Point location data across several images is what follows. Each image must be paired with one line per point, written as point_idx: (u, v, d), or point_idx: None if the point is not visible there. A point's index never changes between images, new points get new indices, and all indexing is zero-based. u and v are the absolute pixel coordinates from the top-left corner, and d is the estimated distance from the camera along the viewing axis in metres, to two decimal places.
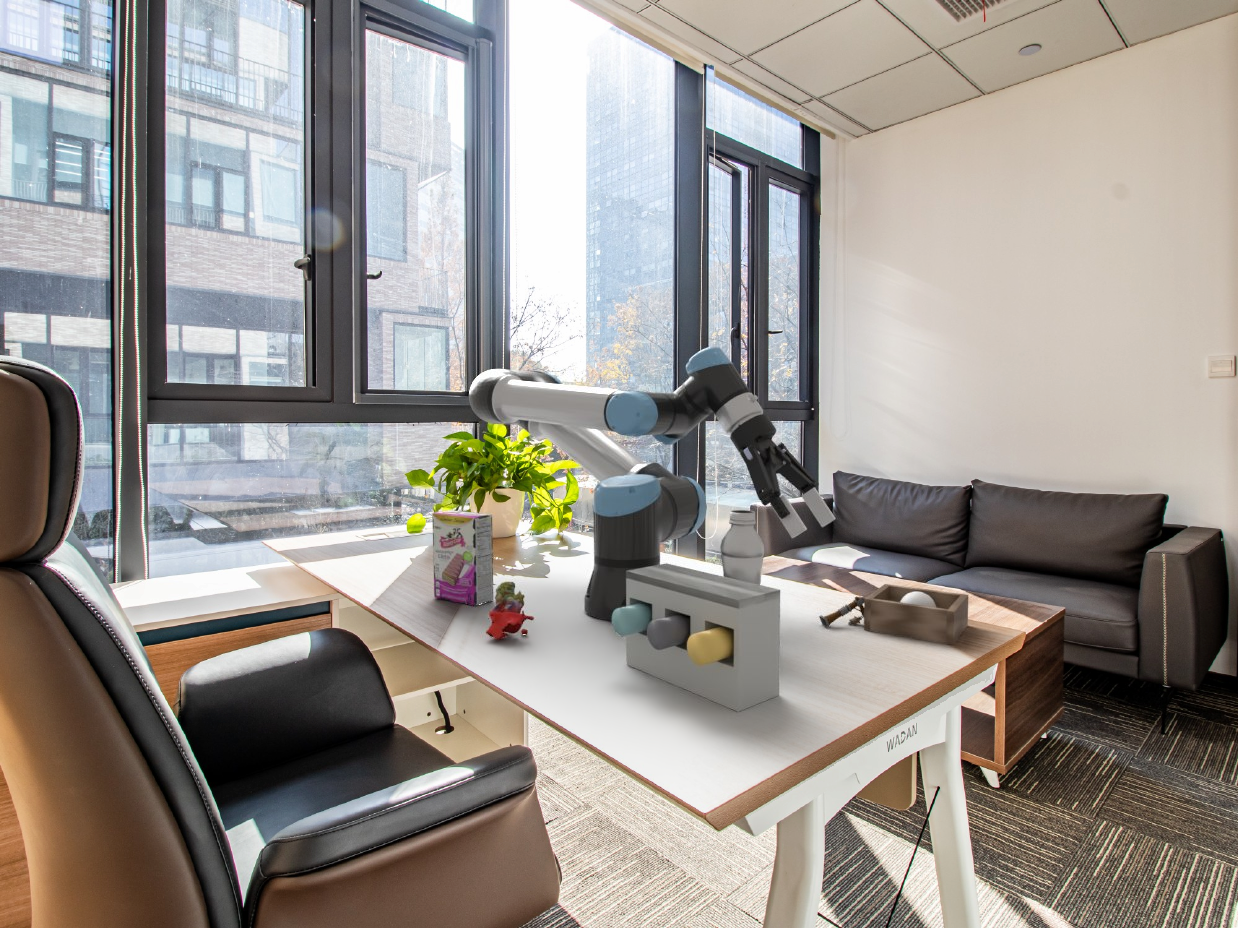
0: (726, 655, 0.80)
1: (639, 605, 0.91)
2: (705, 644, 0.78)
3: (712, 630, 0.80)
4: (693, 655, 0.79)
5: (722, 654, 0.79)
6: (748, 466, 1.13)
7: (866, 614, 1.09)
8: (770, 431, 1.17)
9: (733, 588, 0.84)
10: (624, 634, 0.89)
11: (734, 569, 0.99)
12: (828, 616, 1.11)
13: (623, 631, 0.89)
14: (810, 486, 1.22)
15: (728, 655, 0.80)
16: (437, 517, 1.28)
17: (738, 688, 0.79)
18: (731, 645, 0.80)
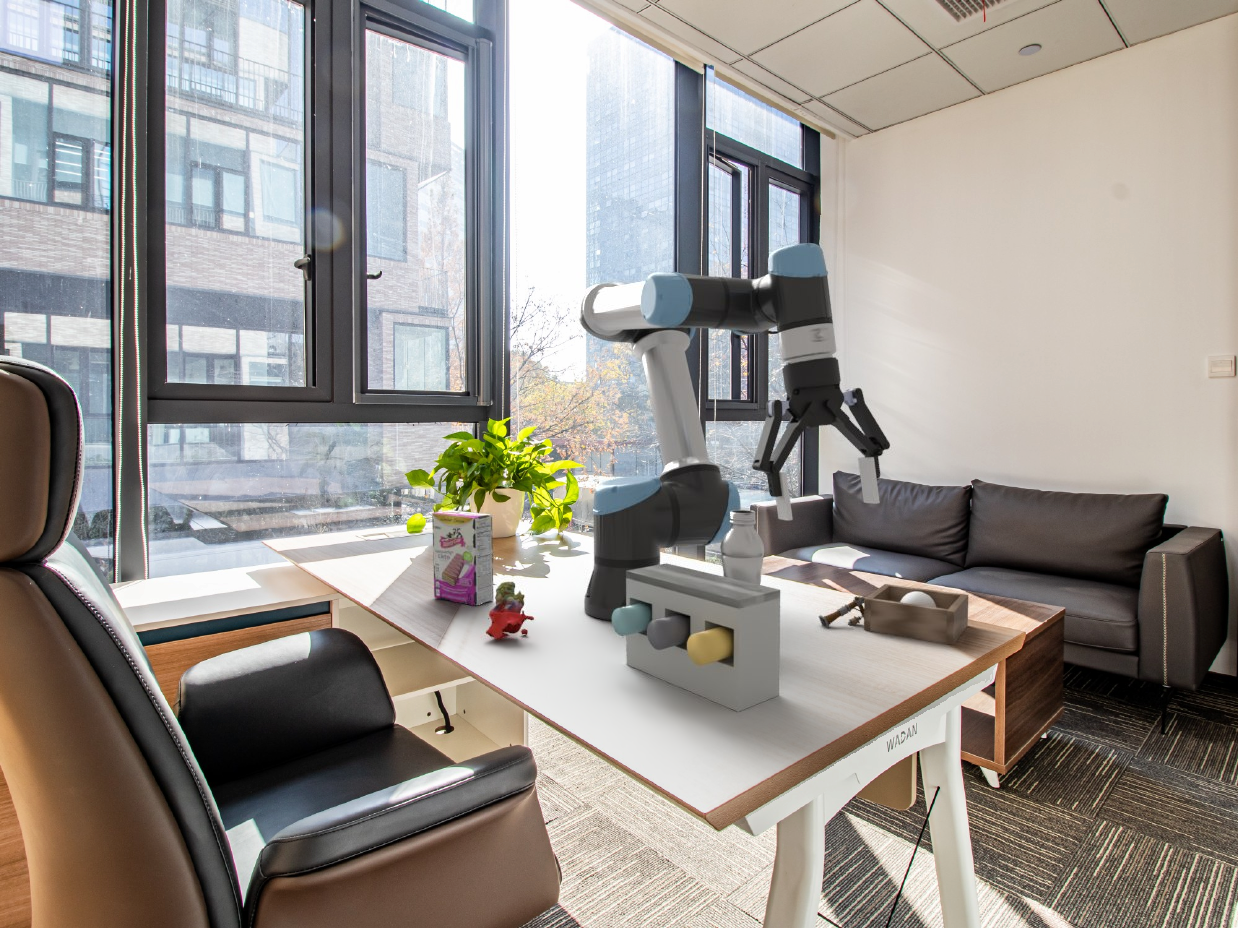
0: (726, 655, 0.80)
1: (639, 605, 0.91)
2: (705, 644, 0.78)
3: (712, 630, 0.80)
4: (693, 655, 0.79)
5: (722, 654, 0.79)
6: (765, 423, 0.95)
7: (866, 614, 1.09)
8: (818, 385, 0.92)
9: (733, 588, 0.84)
10: (624, 634, 0.89)
11: (734, 569, 0.99)
12: (828, 616, 1.11)
13: (623, 631, 0.89)
14: (870, 453, 0.97)
15: (728, 655, 0.80)
16: (437, 517, 1.28)
17: (738, 688, 0.79)
18: (731, 645, 0.80)
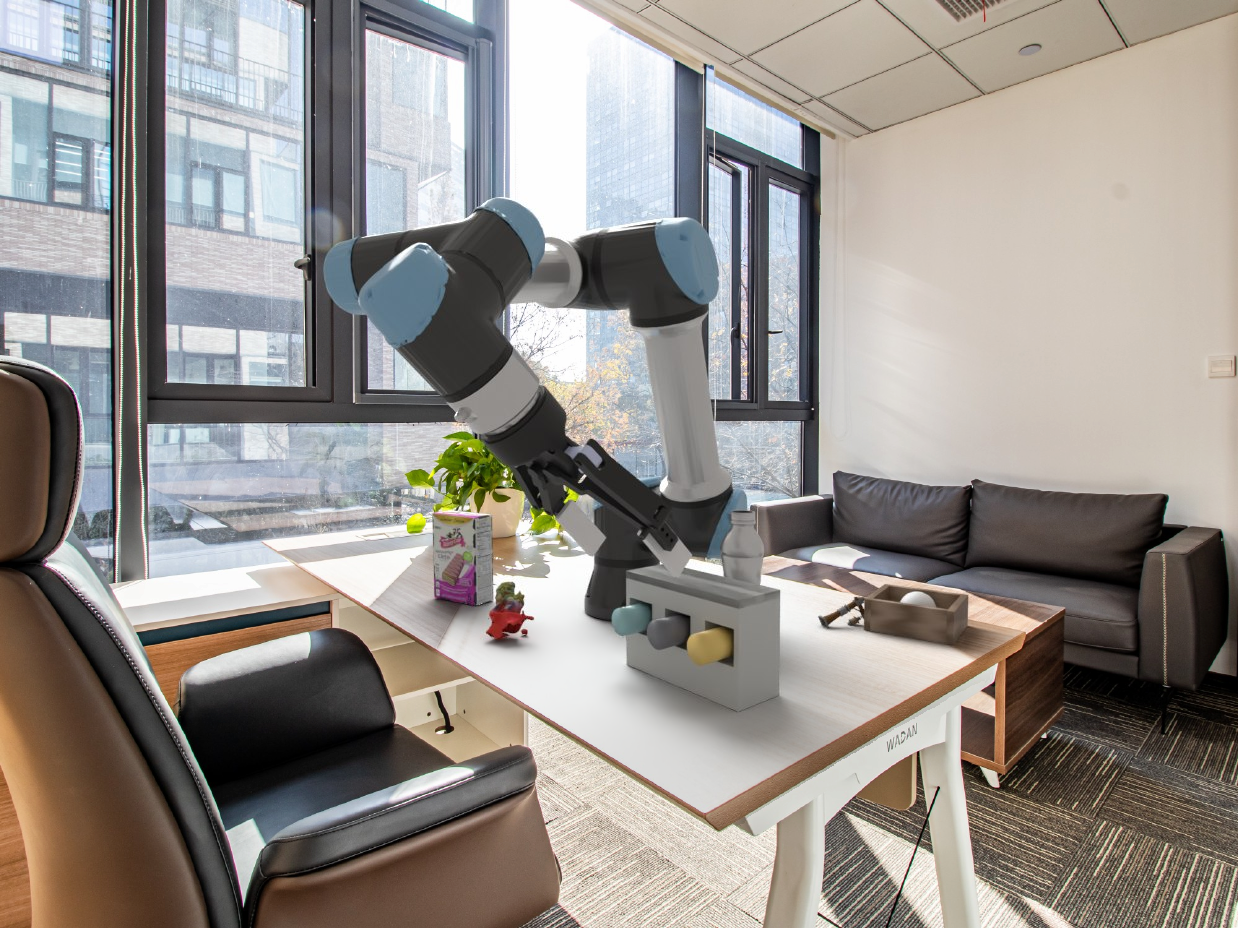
0: (726, 655, 0.80)
1: (639, 605, 0.91)
2: (705, 644, 0.78)
3: (712, 630, 0.80)
4: (693, 655, 0.79)
5: (722, 654, 0.79)
6: None
7: (866, 614, 1.09)
8: None
9: (733, 588, 0.84)
10: (624, 634, 0.89)
11: (734, 569, 0.99)
12: (827, 616, 1.11)
13: (623, 631, 0.89)
14: None
15: (728, 655, 0.80)
16: (437, 517, 1.28)
17: (738, 688, 0.79)
18: (731, 645, 0.80)
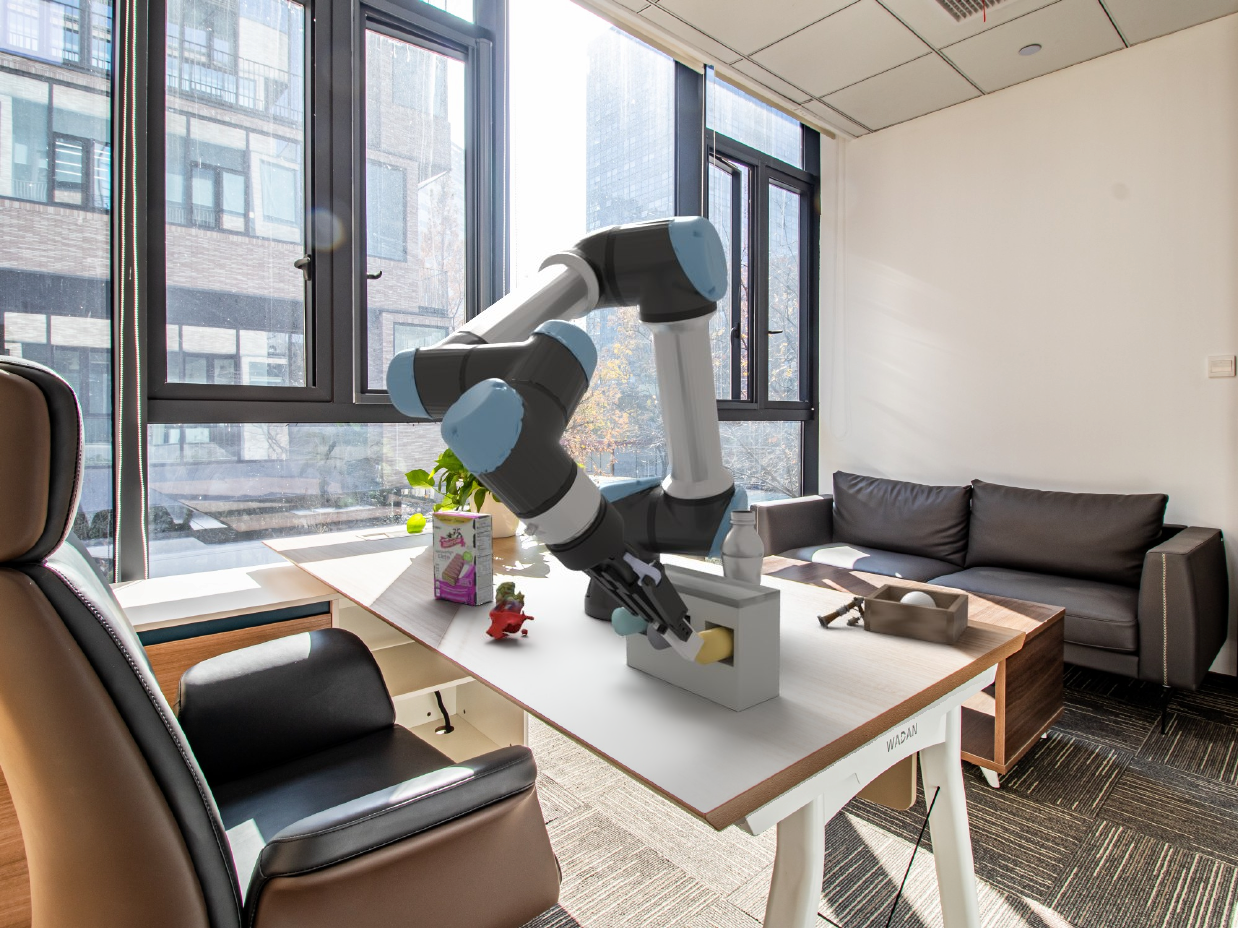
0: (729, 654, 0.80)
1: None
2: (708, 643, 0.78)
3: (715, 629, 0.80)
4: None
5: (725, 653, 0.79)
6: None
7: (866, 614, 1.09)
8: None
9: (733, 588, 0.84)
10: (624, 634, 0.89)
11: (734, 569, 0.99)
12: (826, 616, 1.11)
13: (623, 631, 0.89)
14: None
15: (731, 654, 0.80)
16: (437, 517, 1.28)
17: (738, 688, 0.79)
18: None
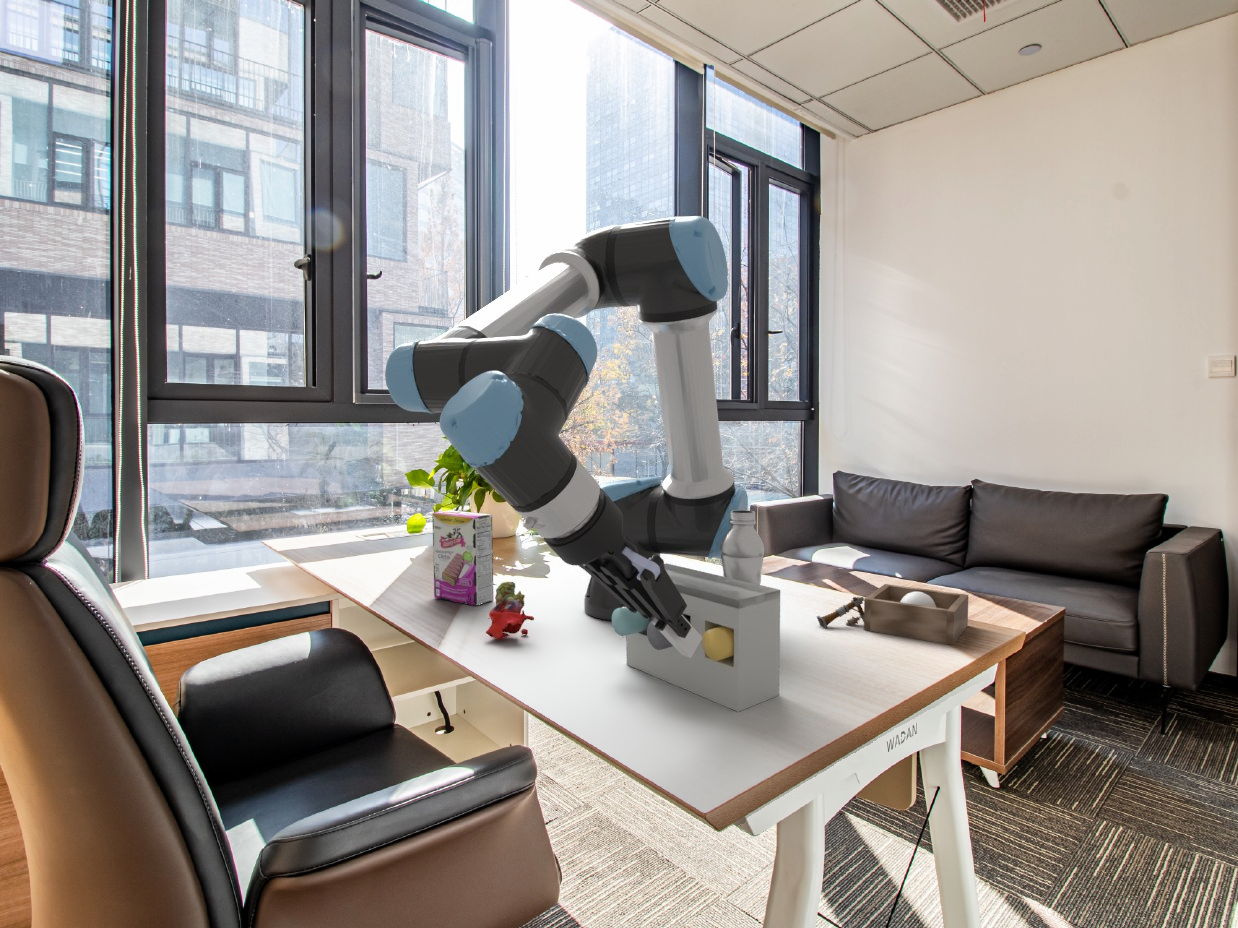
0: None
1: None
2: (720, 639, 0.79)
3: None
4: (708, 650, 0.81)
5: None
6: None
7: (866, 614, 1.09)
8: None
9: (733, 588, 0.84)
10: (624, 634, 0.89)
11: (734, 569, 0.99)
12: (826, 616, 1.11)
13: (623, 631, 0.89)
14: None
15: None
16: (437, 517, 1.28)
17: (738, 688, 0.79)
18: None
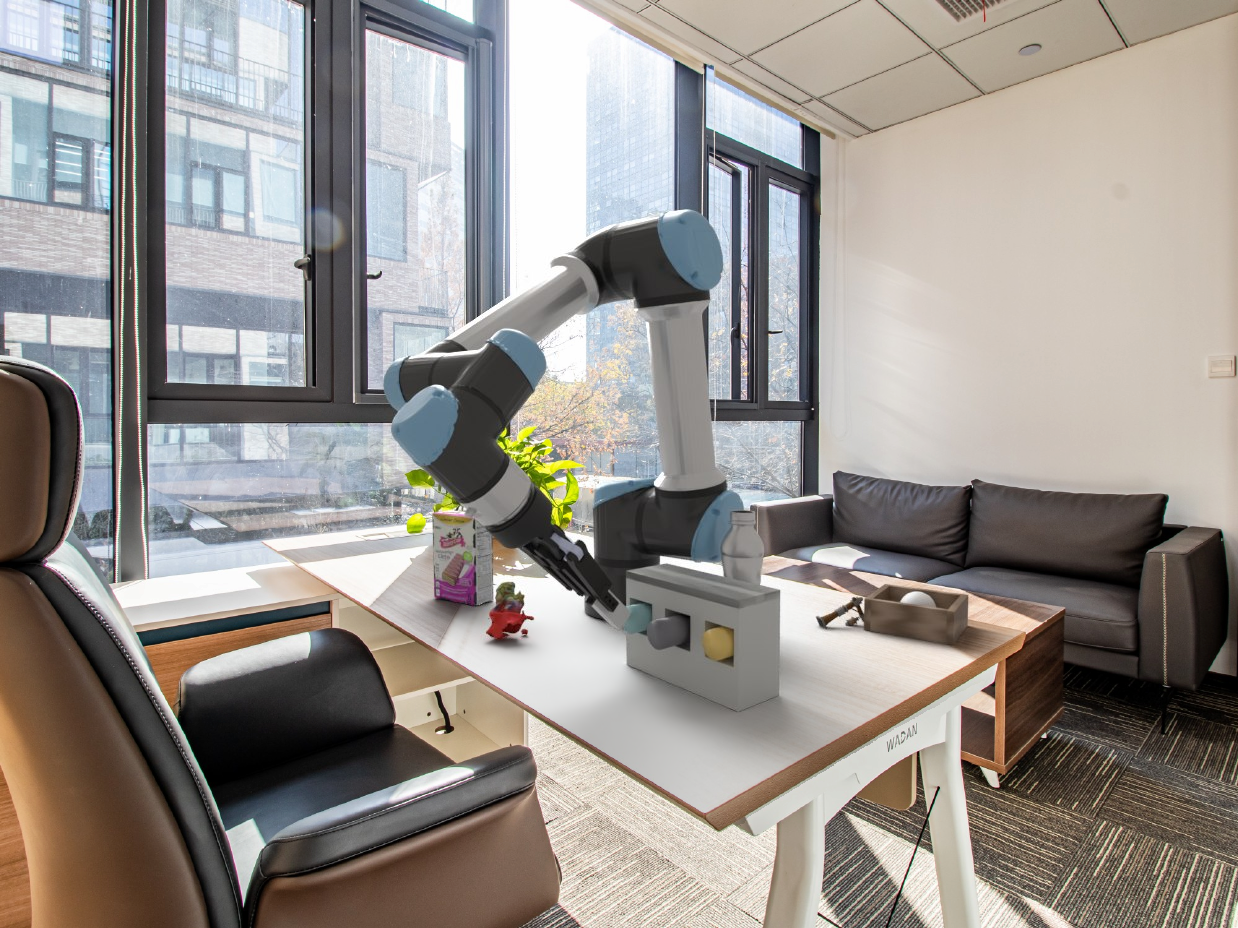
0: None
1: (647, 603, 0.92)
2: (720, 639, 0.79)
3: None
4: (708, 650, 0.81)
5: None
6: None
7: (866, 614, 1.09)
8: None
9: (733, 588, 0.84)
10: (633, 632, 0.90)
11: (734, 569, 0.99)
12: (825, 616, 1.11)
13: (632, 629, 0.90)
14: None
15: None
16: (437, 517, 1.28)
17: (738, 688, 0.79)
18: None
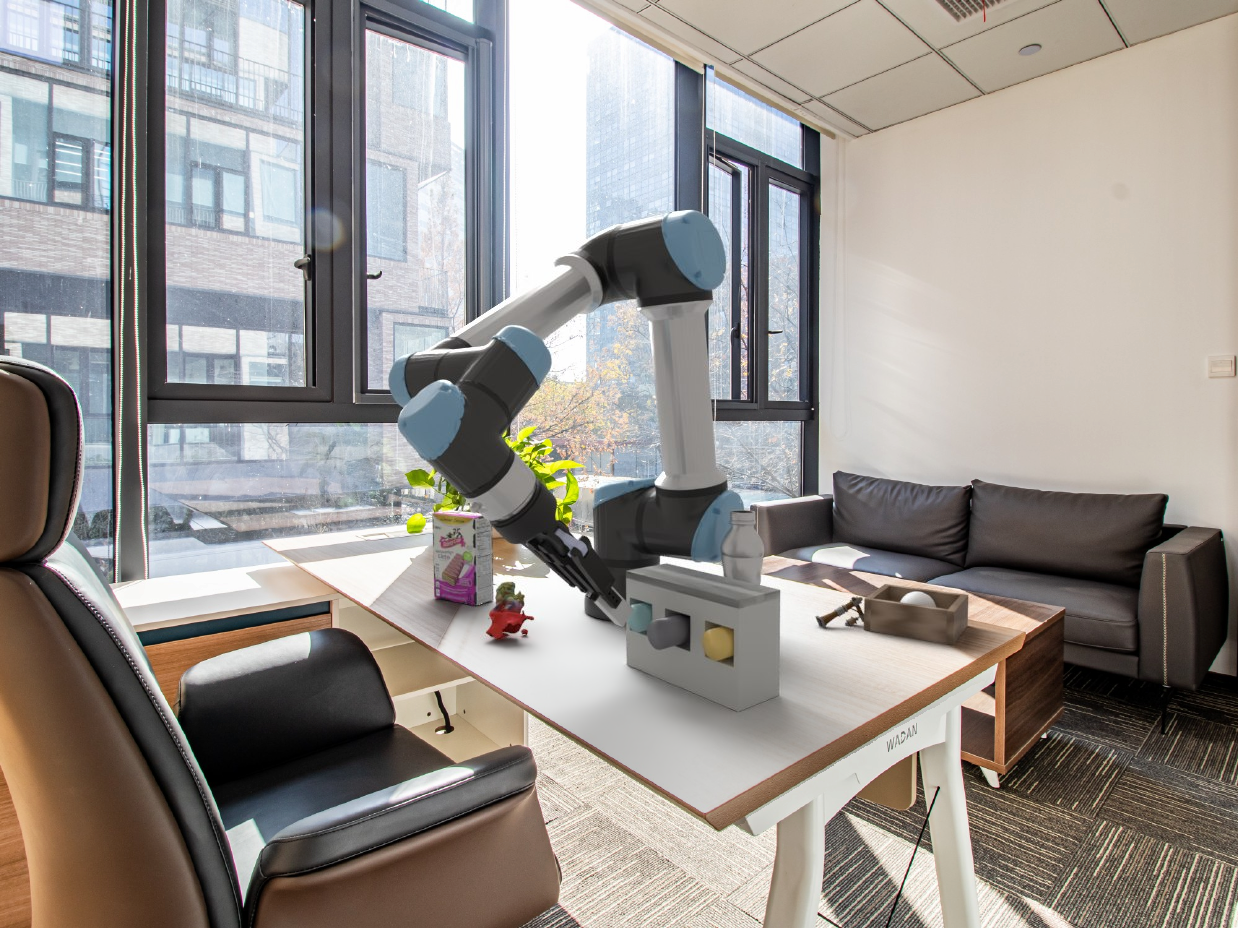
0: None
1: None
2: (720, 639, 0.79)
3: None
4: (708, 650, 0.81)
5: None
6: None
7: (866, 614, 1.09)
8: None
9: (733, 588, 0.84)
10: (639, 630, 0.91)
11: (734, 569, 0.99)
12: (824, 616, 1.11)
13: (638, 628, 0.91)
14: None
15: None
16: (437, 517, 1.28)
17: (738, 688, 0.79)
18: None
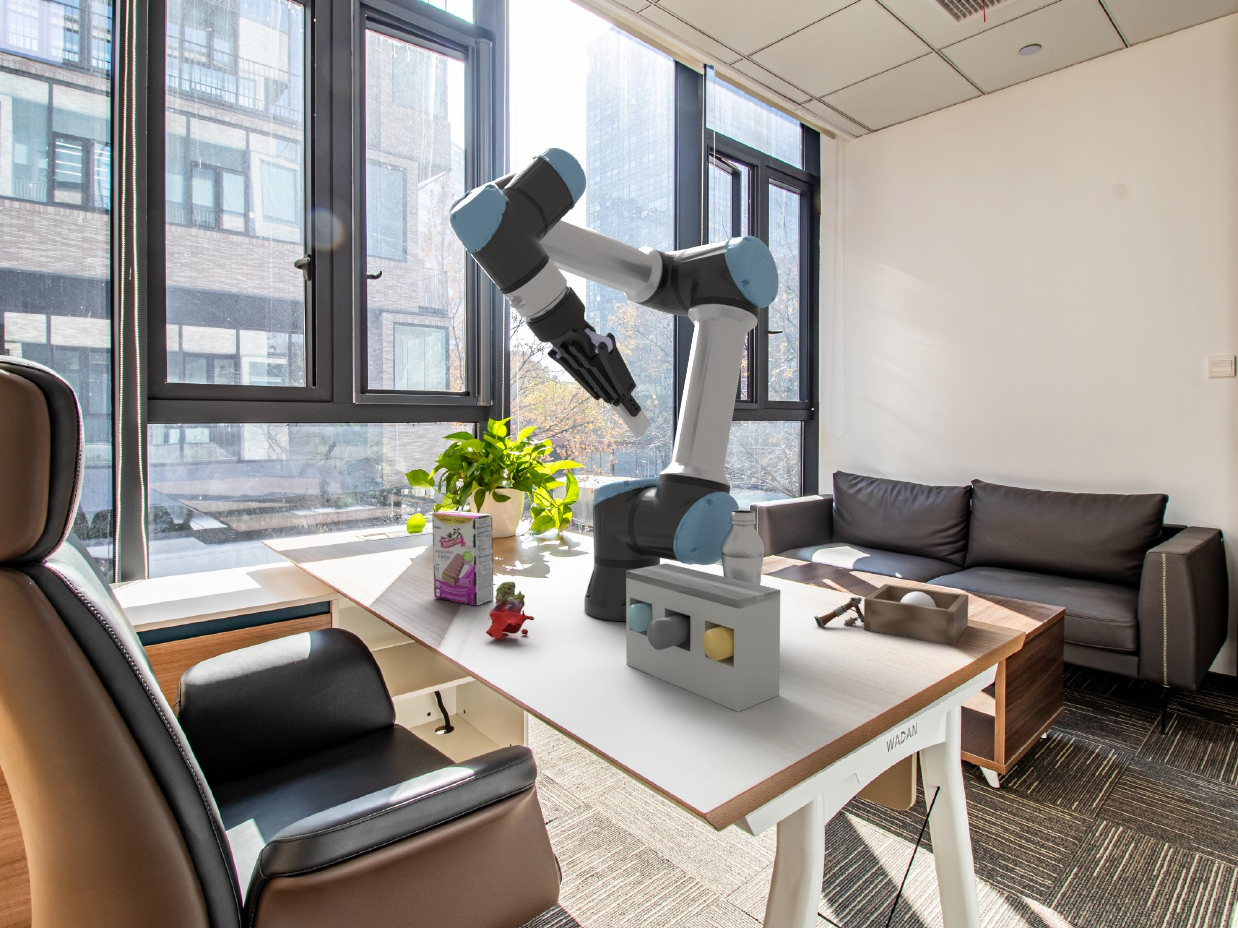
0: None
1: None
2: (720, 639, 0.79)
3: None
4: (708, 650, 0.81)
5: None
6: None
7: (866, 614, 1.09)
8: None
9: (733, 588, 0.84)
10: (639, 630, 0.91)
11: (734, 569, 0.99)
12: (823, 617, 1.11)
13: (638, 628, 0.91)
14: None
15: None
16: (437, 517, 1.28)
17: (738, 688, 0.79)
18: None
